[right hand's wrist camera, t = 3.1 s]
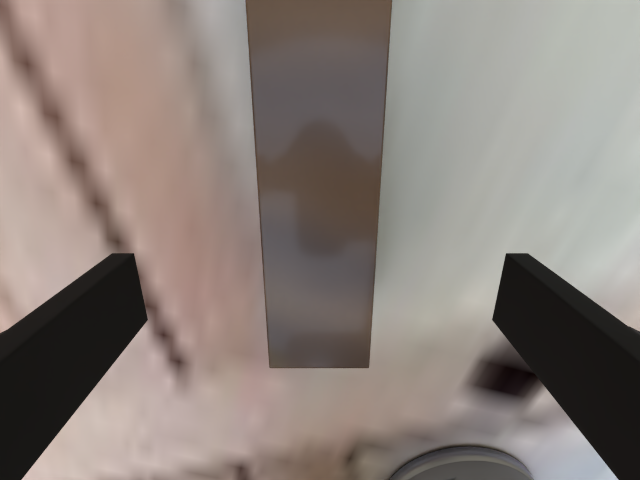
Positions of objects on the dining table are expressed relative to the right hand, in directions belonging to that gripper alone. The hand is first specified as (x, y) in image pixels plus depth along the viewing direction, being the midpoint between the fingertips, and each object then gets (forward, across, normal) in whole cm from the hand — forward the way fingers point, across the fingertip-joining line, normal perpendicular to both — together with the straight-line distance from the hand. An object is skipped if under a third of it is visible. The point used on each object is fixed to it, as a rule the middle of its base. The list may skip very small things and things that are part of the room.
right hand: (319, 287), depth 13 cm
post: (+12, 0, -19) cm, 23 cm away
